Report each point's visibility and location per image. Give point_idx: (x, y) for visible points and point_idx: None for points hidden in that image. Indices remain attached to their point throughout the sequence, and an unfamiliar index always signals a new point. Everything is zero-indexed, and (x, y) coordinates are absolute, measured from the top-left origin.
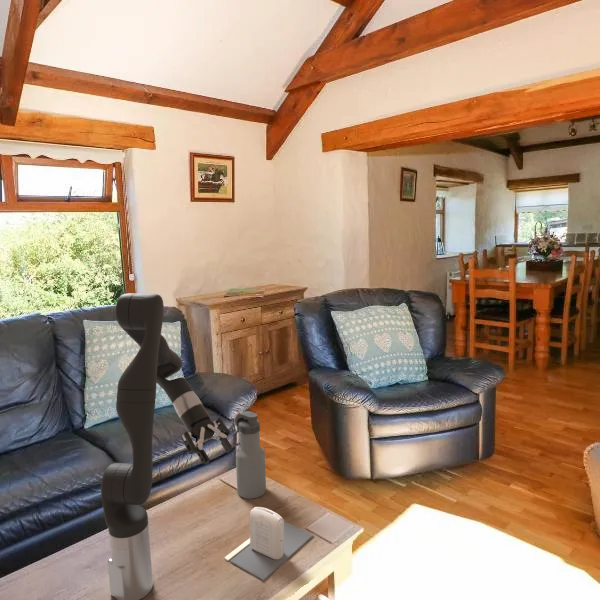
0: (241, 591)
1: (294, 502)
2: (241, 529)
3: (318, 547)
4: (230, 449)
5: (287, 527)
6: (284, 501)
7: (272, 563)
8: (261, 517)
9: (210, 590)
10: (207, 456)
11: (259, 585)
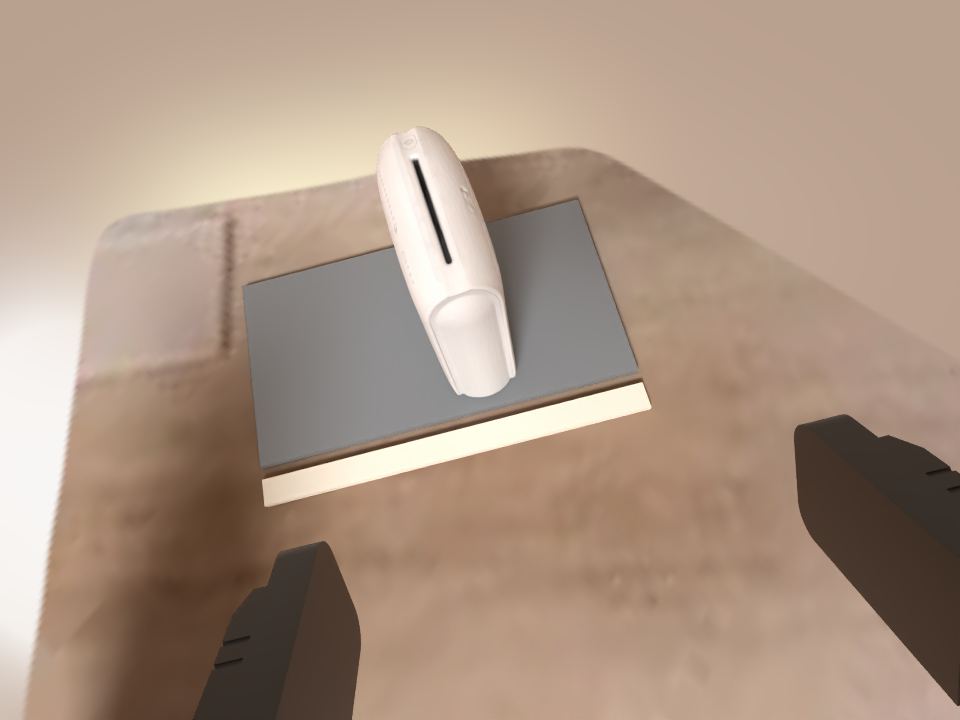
0: (676, 210)
1: (88, 566)
2: (458, 556)
3: (286, 228)
4: (312, 545)
5: (283, 397)
6: (114, 617)
7: (495, 248)
8: (472, 201)
9: (786, 281)
10: (851, 452)
11: (601, 197)
